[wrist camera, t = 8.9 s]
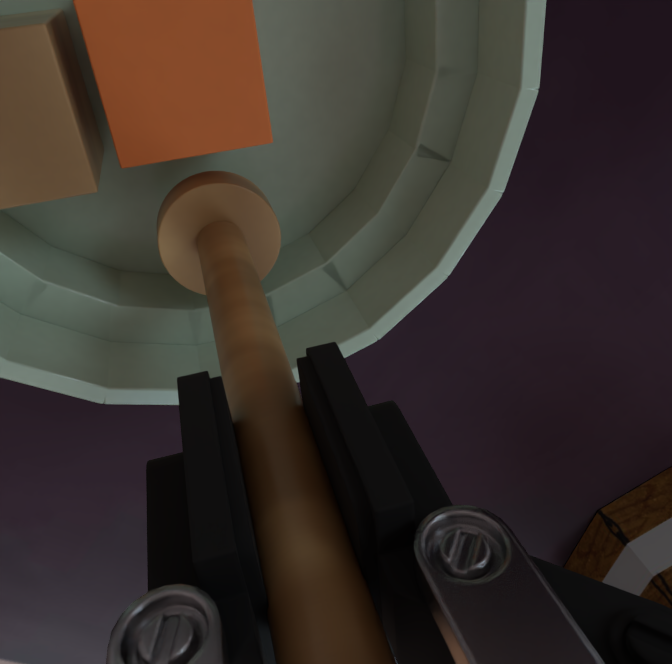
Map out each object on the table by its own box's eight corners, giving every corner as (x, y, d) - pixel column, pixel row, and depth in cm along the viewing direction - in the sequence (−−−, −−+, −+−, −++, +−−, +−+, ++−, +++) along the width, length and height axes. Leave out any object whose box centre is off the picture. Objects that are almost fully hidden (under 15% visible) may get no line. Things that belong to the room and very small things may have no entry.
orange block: (123, 131, 19) (120, 169, 16) (83, -16, 17) (70, -7, 14) (251, 110, 20) (273, 143, 17) (227, -34, 18) (248, -29, 15)
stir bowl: (-22, 356, 23) (-66, 470, 18) (-382, -371, 13) (-708, -568, 8) (447, 256, 26) (521, 330, 21) (450, -392, 16) (590, -543, 11)
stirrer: (172, 290, 20) (224, 858, 8) (142, 181, 18) (149, 707, 6) (282, 267, 21) (497, 759, 8) (264, 160, 19) (514, 594, 6)
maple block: (-32, 173, 19) (-67, 222, 16) (-94, 27, 17) (-150, 48, 13) (105, 151, 20) (98, 193, 16) (62, 7, 17) (45, 22, 14)
